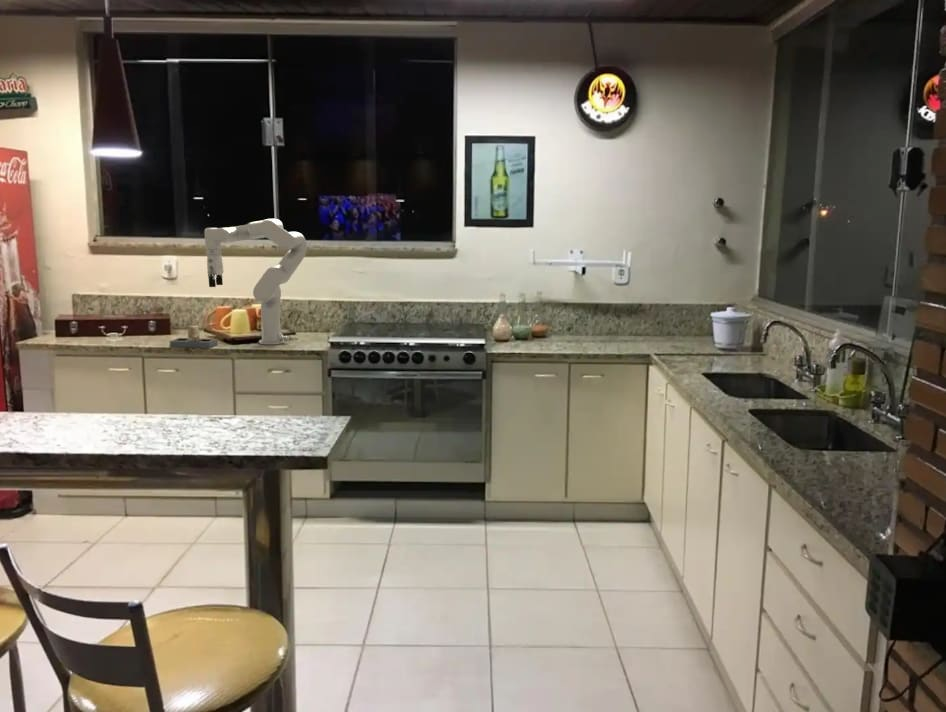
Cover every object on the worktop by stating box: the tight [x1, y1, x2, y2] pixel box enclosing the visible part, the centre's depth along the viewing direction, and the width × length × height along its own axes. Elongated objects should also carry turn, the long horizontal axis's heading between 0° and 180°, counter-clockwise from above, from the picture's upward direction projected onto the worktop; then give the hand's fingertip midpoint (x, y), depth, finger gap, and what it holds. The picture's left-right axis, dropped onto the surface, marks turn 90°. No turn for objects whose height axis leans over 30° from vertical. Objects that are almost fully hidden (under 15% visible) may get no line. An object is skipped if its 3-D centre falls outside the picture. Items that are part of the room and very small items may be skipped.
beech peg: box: [187, 324, 201, 341], centre depth 383 cm, size 4×4×10 cm
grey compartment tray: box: [169, 337, 219, 349], centre depth 383 cm, size 20×10×3 cm, turn 85°
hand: (216, 285), depth 395 cm, fingers open, 9 cm apart
